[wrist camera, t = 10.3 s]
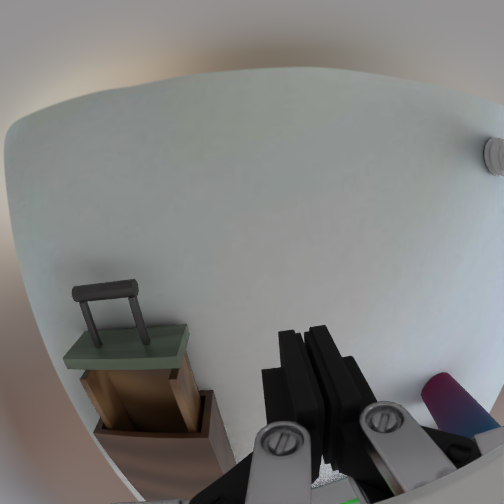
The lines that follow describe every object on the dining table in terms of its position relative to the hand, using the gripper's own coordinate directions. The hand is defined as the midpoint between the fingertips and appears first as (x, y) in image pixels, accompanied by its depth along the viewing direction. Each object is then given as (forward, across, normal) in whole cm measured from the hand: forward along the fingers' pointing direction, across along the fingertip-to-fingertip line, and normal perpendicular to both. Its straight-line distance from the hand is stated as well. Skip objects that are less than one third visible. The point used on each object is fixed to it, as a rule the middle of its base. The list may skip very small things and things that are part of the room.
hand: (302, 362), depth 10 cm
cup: (+17, -22, +22) cm, 35 cm away
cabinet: (+16, +13, +24) cm, 32 cm away
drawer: (+16, +14, +11) cm, 23 cm away
